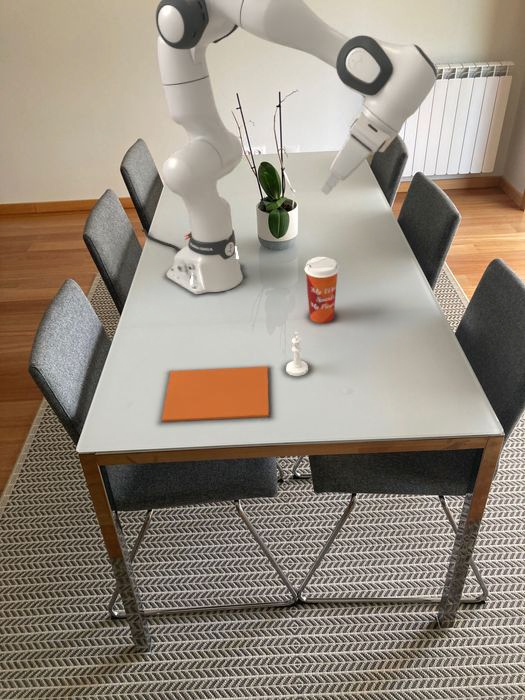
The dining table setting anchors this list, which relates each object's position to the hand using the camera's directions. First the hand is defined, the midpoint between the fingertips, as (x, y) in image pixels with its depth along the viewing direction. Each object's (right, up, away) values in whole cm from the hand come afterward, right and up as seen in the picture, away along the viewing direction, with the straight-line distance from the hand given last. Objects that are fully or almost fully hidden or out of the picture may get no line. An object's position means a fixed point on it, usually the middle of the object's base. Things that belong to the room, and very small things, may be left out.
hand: (327, 188), depth 123 cm
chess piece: (-6, -38, +12) cm, 40 cm away
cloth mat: (-23, -43, +6) cm, 49 cm away
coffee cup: (+2, -25, +28) cm, 38 cm away
